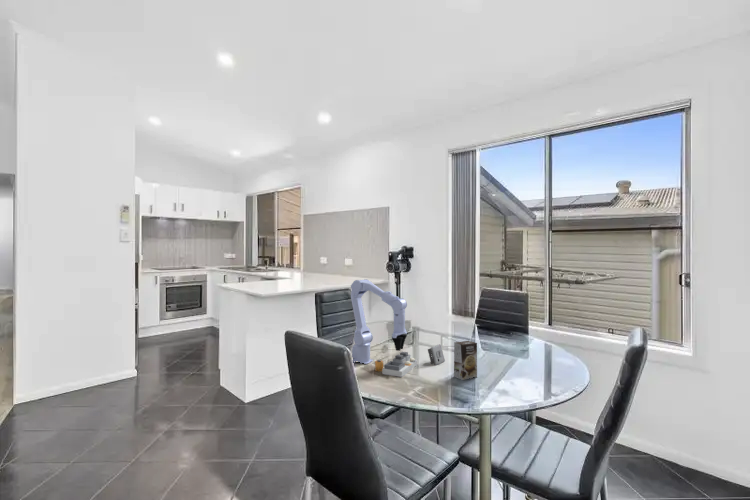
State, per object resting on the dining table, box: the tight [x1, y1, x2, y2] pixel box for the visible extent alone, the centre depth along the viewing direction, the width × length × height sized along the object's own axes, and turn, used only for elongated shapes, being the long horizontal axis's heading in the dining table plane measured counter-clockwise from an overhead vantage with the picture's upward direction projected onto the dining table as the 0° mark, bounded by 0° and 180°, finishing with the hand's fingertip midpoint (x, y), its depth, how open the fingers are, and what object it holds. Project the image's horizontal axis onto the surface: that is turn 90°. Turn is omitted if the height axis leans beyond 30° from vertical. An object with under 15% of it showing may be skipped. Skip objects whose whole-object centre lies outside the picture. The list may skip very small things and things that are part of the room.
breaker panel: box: [381, 354, 418, 378], centre depth 184 cm, size 10×22×5 cm, turn 155°
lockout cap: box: [374, 359, 384, 372], centre depth 182 cm, size 4×4×5 cm
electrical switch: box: [427, 344, 446, 366], centre depth 196 cm, size 9×5×9 cm, turn 141°
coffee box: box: [453, 340, 478, 381], centre depth 172 cm, size 9×6×16 cm
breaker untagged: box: [399, 351, 409, 357], centre depth 191 cm, size 3×3×2 cm
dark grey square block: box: [394, 354, 404, 360], centre depth 185 cm, size 3×3×2 cm
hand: (399, 349), depth 185 cm, fingers open, 3 cm apart
